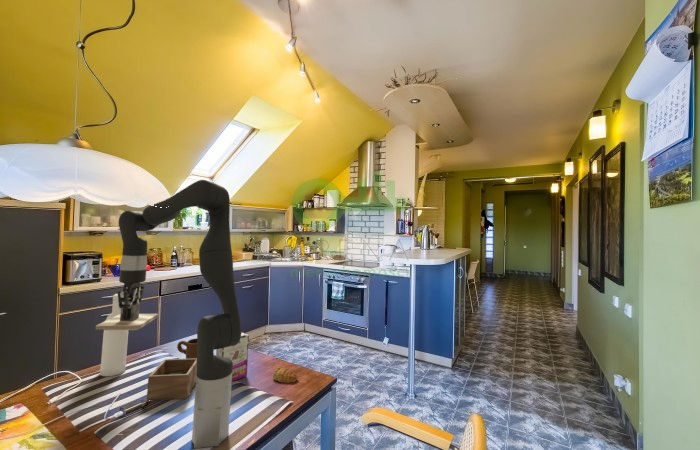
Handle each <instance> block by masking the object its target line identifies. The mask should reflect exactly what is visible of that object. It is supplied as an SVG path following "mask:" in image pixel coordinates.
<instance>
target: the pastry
mask: <svg viewBox="0 0 700 450" xmlns="http://www.w3.org/2000/svg"><path fill="white" fill-rule="evenodd" d="M272 378H273V379H274V381H276V382H277V381H278V382H279V383H286V384H291V383H294V382H296V381H297V380H298V378H299V377H298V375H297V373H296V372H295V371H293V370H291V369H289V368H286V367H277V368H276V369H275V370H274V372H273V374H272Z"/></svg>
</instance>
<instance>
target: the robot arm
mask: <svg viewBox="0 0 700 450" xmlns="http://www.w3.org/2000/svg"><path fill="white" fill-rule="evenodd" d="M230 198H231V197H230V195H229V191H228V190H227V189H226V188H225V187H224V186H221V185H220V184H218V183H215V182H213V181H211V180H209V179H199V180H197V181H194V182H193V183H190V185H188V186H186V187H185V188H183V189H181V190H180V191H177V193H175V194H173V195H171V196H170V197H169V198H166V199H164V200H162V201H159V202H156V203H154V206H151V205H152V204H151V205H148V206H147V207H146V208H144V209H143V211H140V210H139V211H138V210H137V211H136V210H125V211H123V212H122V213H121V214H120V216H119V218H118V228H119V232H120V235H121V240H122V253H121V260H120V268H119V278H118V279H119V280H118V281H119V283H121V284H122V283H123V288H122V291H118V292H117V294H118V302H119V308H122V309H123V314H122V319H123V320H129V319H130V317H131V307H132V303H141V302H142V298H143V294H144V290H145V285H141V284H142V283H144V282H146V279H147V266H148V257H147V256H148V241H147V239H144V238H142V237H139V236H138V233H137V232H149V231H152V230H154V229H156V228H157V227H158V226H160V225H163V224H165V223H168V222H171V221H173V220H175V219H177V217H178V216H180V214H181V212H182V211H183V210H184V209H187V208H194V207H196V208H199V209H200V210H201V209H202V210H204V211H207V212H208V217H209V228H208V231H207V233H206V235H205V236H204V238H203V240H202V242H201V244H200V246H199V249H198V250H199V251H198V259H199V272H200V274H201V276H202V277H203V279H204V280H205V282H206V283H207V284H208V285H209V286H210V288H211V289H212V290H213V292H215V294H216V296H217V297H218V299H219V302H220V304H221V308H222V313H219V314H212V315H205V316H203V317H202V318H201V319H199V322H198V324H197V330H196V332H197V333H196V334H197V335H196V338H197V374H196V384H195V389H194V404H193V420H192V436H191V443H192V444H193V448H194V449H199V448H200V449H201V448H210V447H218V446H220V444H221V443H222V442H223V441H225V440H226V439H227V437H228V435H229V431H230V430H229V428H230V416H231V413H230V412H231V398H232V395H231V394H232V370H233V363H232V360H231V359H229V358H227V357H222V356H216V354H215V353H214V350H216V349H220V348H225V347H230V346H234V345H236V344H238V343H239V341H240V338H241V332H242V321H241V314H240V311H239V304H238V300H237V294H236V287H235V276H234V275H235V274H234V260H233V259H234V257H233V251H232V244H231V243H232V241H231V230H230V229H231V228H230V217H231V216H230V212H231V211H230V210H231V209H230V207H231V205H230V204H231V203H230V201H231V199H230ZM155 206H157V207H155ZM168 206H169V207H168ZM160 207H162V208H160ZM166 207H167V208H166ZM122 302H123V303H122Z"/></svg>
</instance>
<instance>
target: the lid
mask: <svg viewBox="0 0 700 450" xmlns="http://www.w3.org/2000/svg"><path fill="white" fill-rule="evenodd" d="M140 305H141V302H139V303H132V307H131V317H130V319H129V320H123V319H122V314H123V309H122V308H121V314H119V315H117V316H115V317H113V318H110V319H108V320H106V319H105V320H106V321H105V320H104V321H103V322H101V323H98V324H96V325H95V330H103V331H104V330H128V331H137V330H140V329H142V328H143V327H145V326H146V325H148V324H150V323H152V322H153V321H154V320H156V319H157V318H159V313H140Z"/></svg>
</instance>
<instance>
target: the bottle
mask: <svg viewBox="0 0 700 450" xmlns="http://www.w3.org/2000/svg"><path fill="white" fill-rule="evenodd" d="M112 296H113V297H112V308H111V309H112V311H111V313H109V314H108V315H107V317H106V319H105V320H104V321H106V320H108V319H110V318H113V317H115V316H117V315H119V314H121V308H119V302H118V293H114V294H113V295H112ZM122 303H123V302H122ZM102 336H103V337H102V347H101V360H100V366H99V372H100V373H99V375H100V376H102V377H113V376H118V375H120V374H123V373H124V372H126V366H127V352H128V342H129V339H128V338H129V330H104V329H103V334H102Z"/></svg>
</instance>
